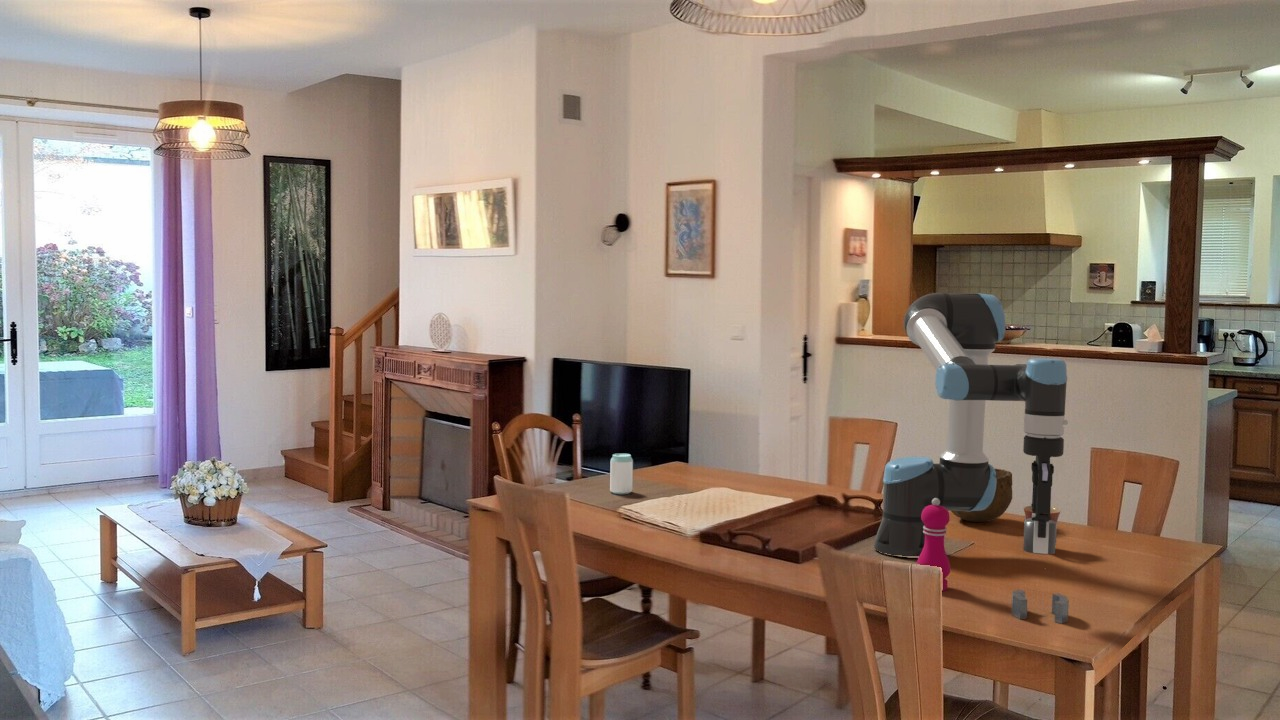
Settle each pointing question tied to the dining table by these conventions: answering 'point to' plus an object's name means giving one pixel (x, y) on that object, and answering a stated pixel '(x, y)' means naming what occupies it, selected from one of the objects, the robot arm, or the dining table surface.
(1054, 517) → the mug
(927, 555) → the pepper mill
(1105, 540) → the dining table surface
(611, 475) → the can
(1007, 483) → the bowl
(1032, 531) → the cap
